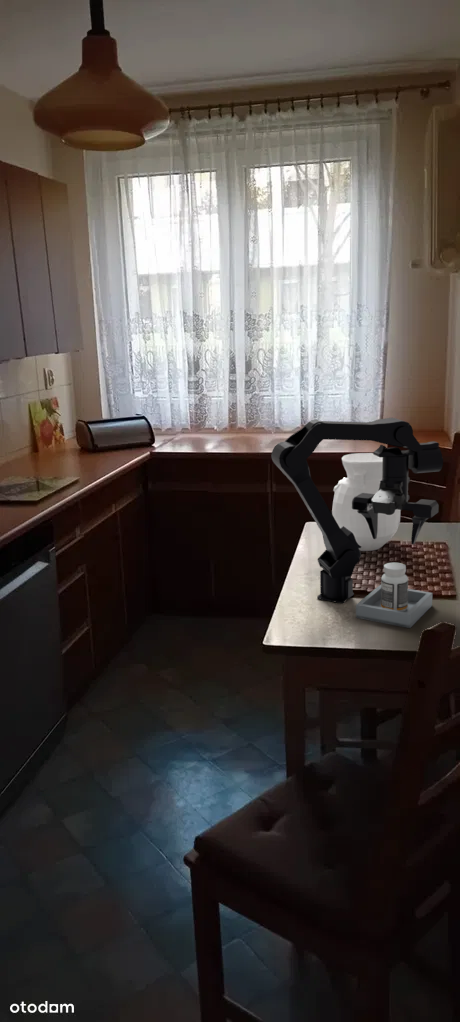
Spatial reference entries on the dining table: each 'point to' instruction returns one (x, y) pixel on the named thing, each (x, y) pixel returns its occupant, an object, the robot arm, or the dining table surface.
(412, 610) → the tray
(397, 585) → the pill bottle
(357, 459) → the pitcher
